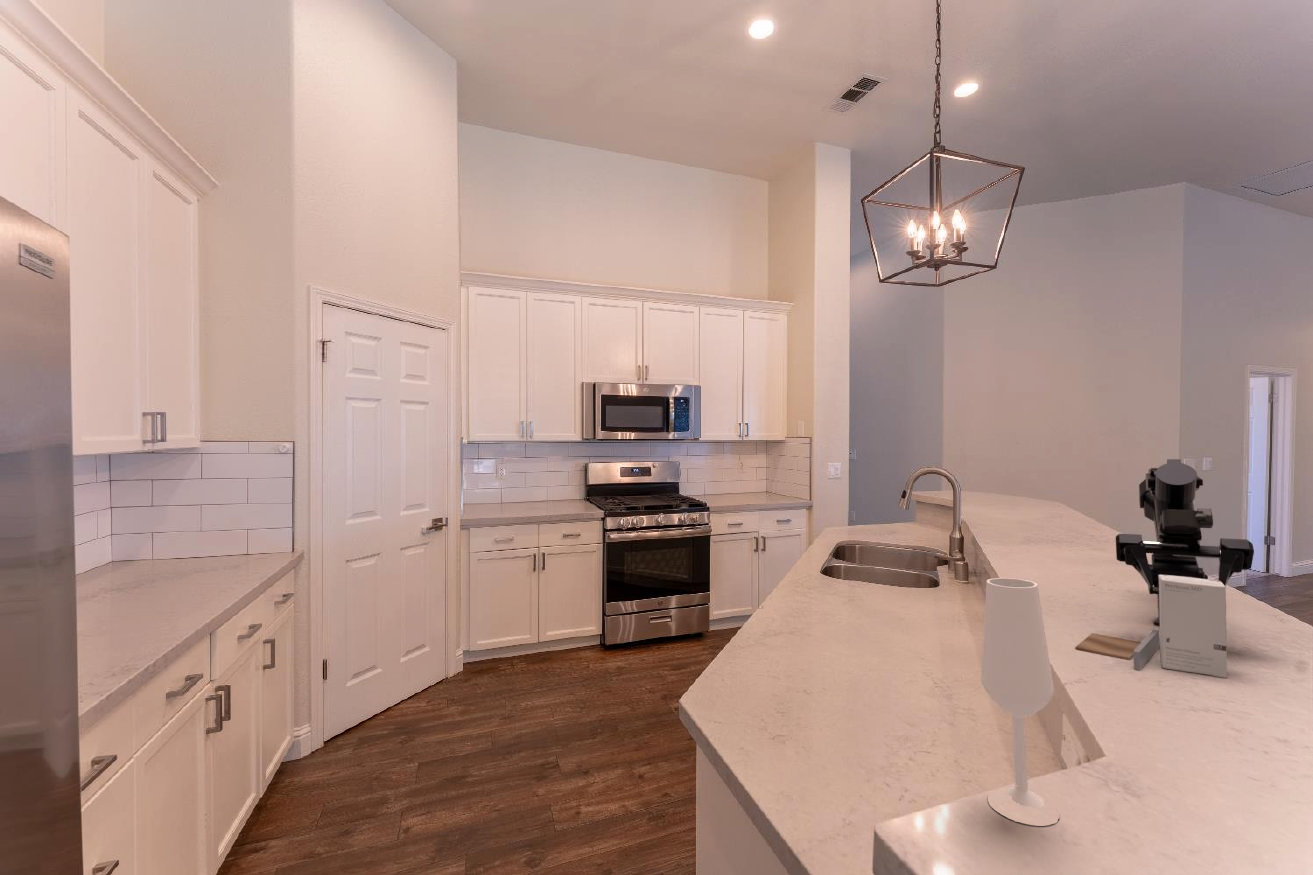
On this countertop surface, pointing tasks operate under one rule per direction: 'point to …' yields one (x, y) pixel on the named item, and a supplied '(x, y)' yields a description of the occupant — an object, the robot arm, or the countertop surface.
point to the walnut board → (1108, 646)
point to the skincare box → (1193, 625)
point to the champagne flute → (1016, 665)
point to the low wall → (1146, 649)
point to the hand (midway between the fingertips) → (1185, 590)
